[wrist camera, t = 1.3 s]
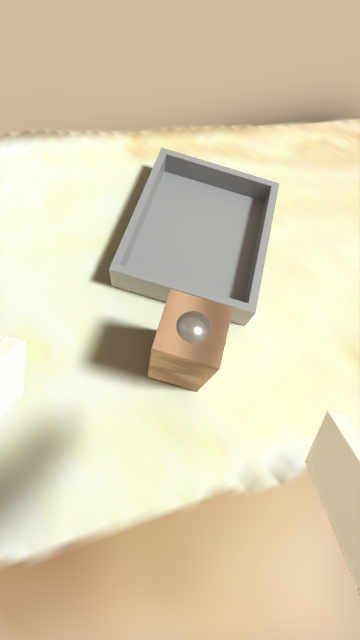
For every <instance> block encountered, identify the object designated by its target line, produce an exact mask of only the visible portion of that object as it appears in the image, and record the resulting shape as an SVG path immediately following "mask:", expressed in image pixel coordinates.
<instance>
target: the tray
mask: <svg viewBox="0 0 360 640" xmlns="http://www.w3.org/2000/svg"><path fill="white" fill-rule="evenodd" d="M278 186H279V183H276V182H273V181H269V180H266V179H263V178H260V177H256V176H253V175H250V174H246V173H243V172H240V171H237V170H233V169H230V168H227V167H224V166H220V165H217V164H214V163H210V162H207V161H204V160H201V159H197V158H194V157H191V156H187V155H184V154H181V153H178V152H174V151H171V150H168V149H164V148H161V150H160V153H159V155H158V157H157V159H156V162H155V164H154V166H153V169H152V171H151V173H150V176H149V178H148V180H147V182H146V185H145V187H144V189H143V192H142V194H141V196H140V199H139V201H138V203H137V205H136V208H135V210H134V212H133V215H132V217H131V219H130V222H129V224H128V226H127V228H126V231H125V233H124V235H123V238H122V240H121V242H120V245H119V247H118V249H117V252H116V254H115V256H114V258H113V261H112V263H111V265H110V268H109V274H110V280H111V286H114V287H117V288H120V289H124V290H127V291H130V292H134V293H137V294H140V295H144V296H147V297H150V298H154V299H157V300H160V301H164V302H167V298H168V295H169V292H170V289H173V290H176V291H179V292H183V293H186V294H189V295H193V296H196V297H199V298H203V299H206V300H209V301H213V302H216V303H219V304H223V305H226V306H229V307H233V309H232V314H231V318H230V322H234V323H237V324H240V325H244V326H245V325H246V323H247V322H248V321H249V320H250V319H251V317H252V316H253V315H254V314H255V311H256V306H257V300H258V295H259V290H260V284H261V279H262V273H263V268H264V262H265V257H266V251H267V246H268V241H269V235H270V230H271V224H272V219H273V213H274V208H275V203H276V197H277V192H278Z"/></svg>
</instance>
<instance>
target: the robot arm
mask: <svg viewBox="0 0 360 640" xmlns="http://www.w3.org/2000/svg"><path fill="white" fill-rule="evenodd" d="M25 349H26V340H24V339H19V338H15V337H11V336H8V337H6V338H4V339H3V340H1V341H0V416H2V415H3V414H4V413H5V412H6V411H7V410H8V409H9V408H10V407H11V406H12V405H13V404H14V403H15V402H16V401H17V400H18V399H19V398H20V397H21V396H22V395H23V383H24V366H25ZM305 462H306V465H307V467H308V470H309V472H310V474H311V477H312V479H313V482H314V484H315V487H316V489H317V492H318V494H319V497H320V499H321V501H322V504H323V506H324V509H325V511H326V514H327V516H328V519H329V521H330V523H331V526H332V528H333V531H334V534H335V536H336V538H337V541H338V543H339V546H340V548H341V551H342V553H343V555H344V558H345V560H346V563H347V566H348V568H349V570H350V573H351V575H352V578H353V580H354V583H355V585H356V587H357V590H358V592H359V595H360V435H359V434H358V432H357V431H356V429H355V428H354V427H353V425H352V424H351V422H350V421H349V419H348V418H347V417H346V415H343V414H339V413H335V412H331V411H327V413H326V416H325V418H324V420H323V422H322V425H321V427H320V429H319V431H318V434H317V436H316V438H315V440H314V443H313V445H312V447H311V449H310V452H309V454H308V456H307V458H306V461H305Z"/></svg>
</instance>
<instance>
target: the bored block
mask: <svg viewBox="0 0 360 640" xmlns="http://www.w3.org/2000/svg"><path fill="white" fill-rule="evenodd" d="M232 309H233V307H229V306H226V305H223V304H219V303H216V302H213V301H209V300H206V299H203V298H199V297H196V296H193V295H189V294H186V293H183V292H179V291H176V290H173V289H170V292H169V295H168V298H167V302H166V305H165V308H164V311H163V314H162V317H161V320H160V323H159V326H158V329H157V332H156V336H155V339H154V342H153V345H152V348H151V355H150V362H149V369H148V377H149V378H152V379H155V380H159V381H162V382H166V383H169V384H172V385H176V386H179V387H182V388H186V389H189V390H192V391H196V392H197V391H198V390H199V389H200V388H201V387H202V386H203V385H204V384H205V383H206V382H207V381H208V380H209V379H210V378H211V377H212V376H213V375H214V374H215V373H216V372H217V371H218V370H219V369H220V364H221V359H222V355H223V350H224V346H225V341H226V337H227V332H228V328H229V323H230V318H231V314H232Z"/></svg>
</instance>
